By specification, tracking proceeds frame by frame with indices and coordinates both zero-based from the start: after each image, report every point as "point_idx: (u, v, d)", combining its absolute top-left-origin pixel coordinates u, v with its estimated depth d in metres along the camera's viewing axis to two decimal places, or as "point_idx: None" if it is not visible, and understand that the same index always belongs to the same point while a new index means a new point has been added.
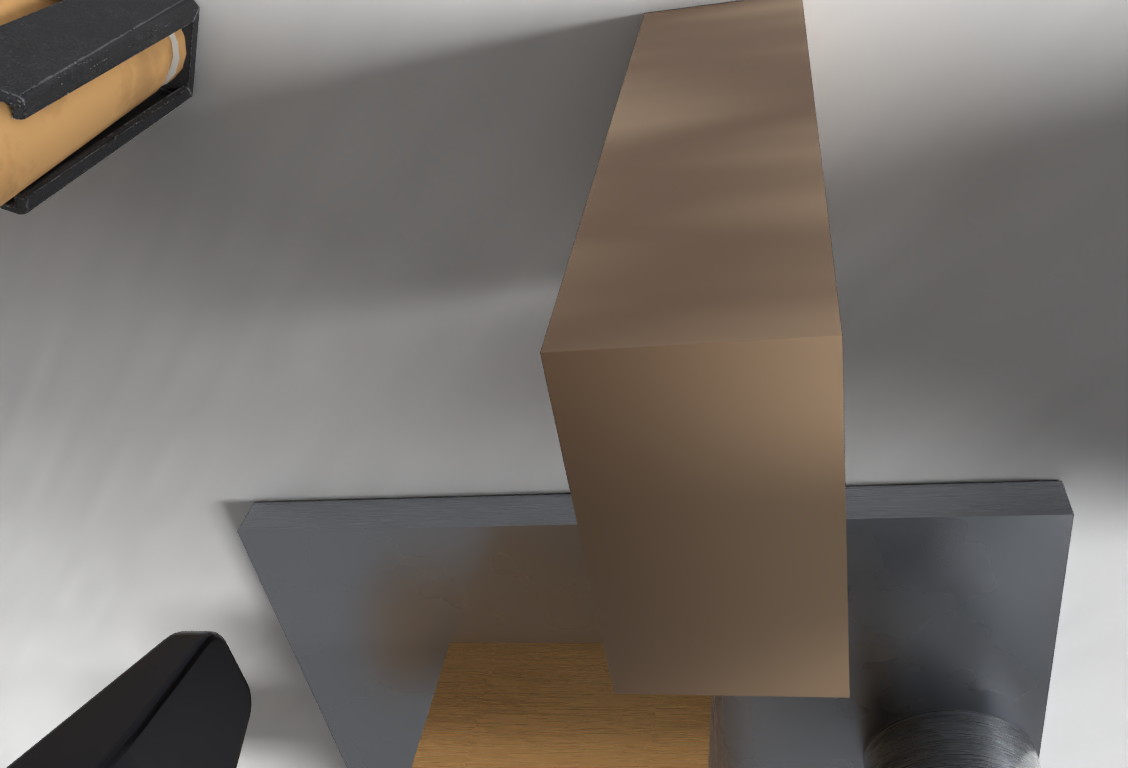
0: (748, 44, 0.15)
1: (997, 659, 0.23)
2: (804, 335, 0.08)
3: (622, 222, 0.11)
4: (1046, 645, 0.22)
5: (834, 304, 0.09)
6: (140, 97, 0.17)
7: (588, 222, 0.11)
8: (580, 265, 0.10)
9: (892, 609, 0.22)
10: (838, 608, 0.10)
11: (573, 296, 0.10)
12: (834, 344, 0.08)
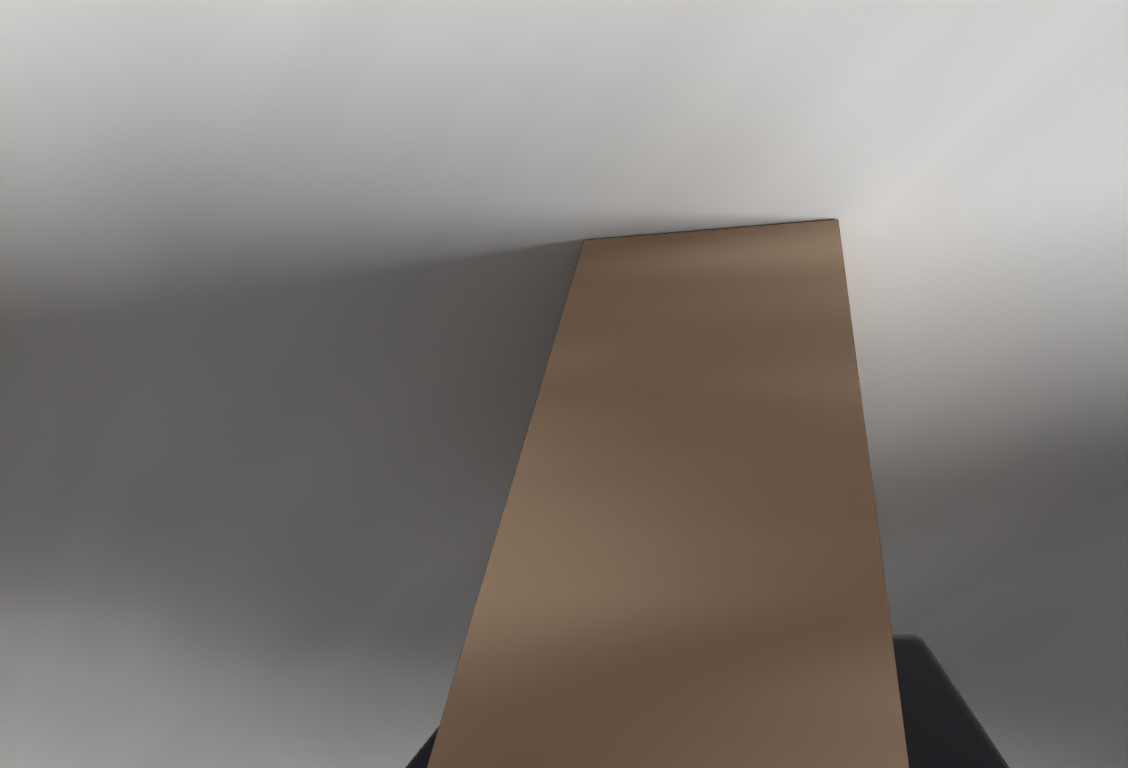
0: (752, 356, 0.08)
1: None
2: None
3: None
4: None
5: None
6: None
7: None
8: None
9: None
10: None
11: None
12: None
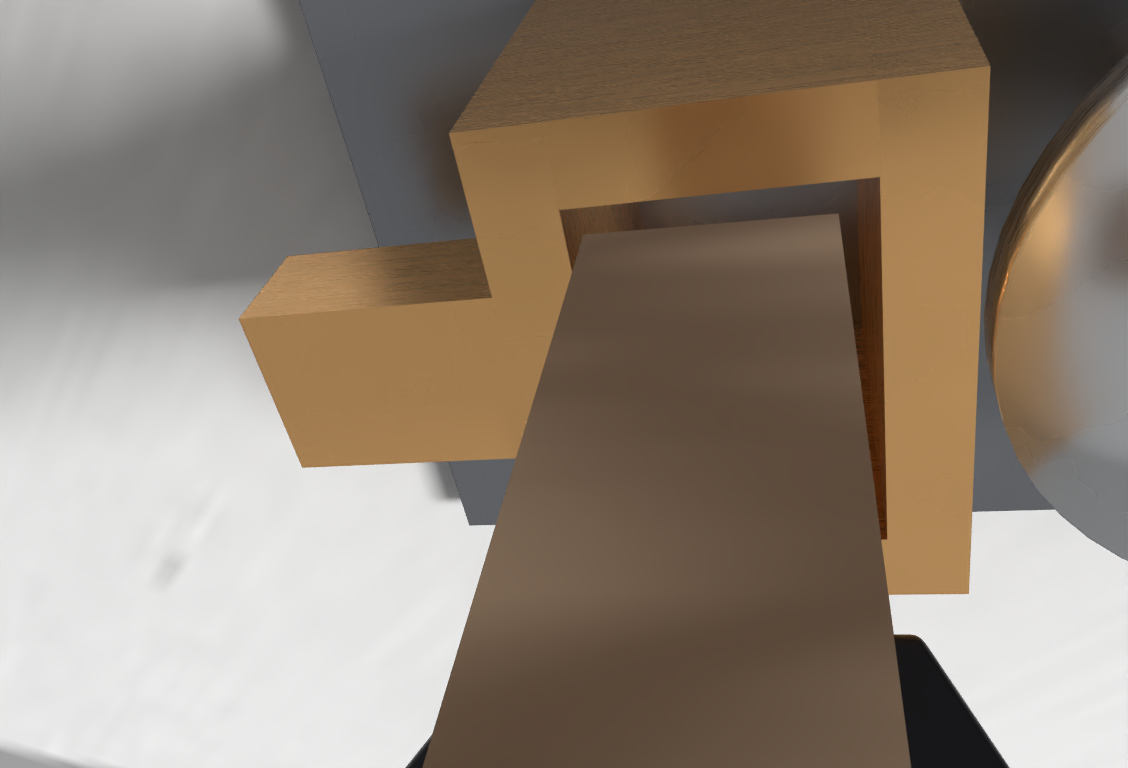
0: (750, 350, 0.08)
1: None
2: None
3: None
4: None
5: None
6: None
7: None
8: None
9: None
10: None
11: None
12: None
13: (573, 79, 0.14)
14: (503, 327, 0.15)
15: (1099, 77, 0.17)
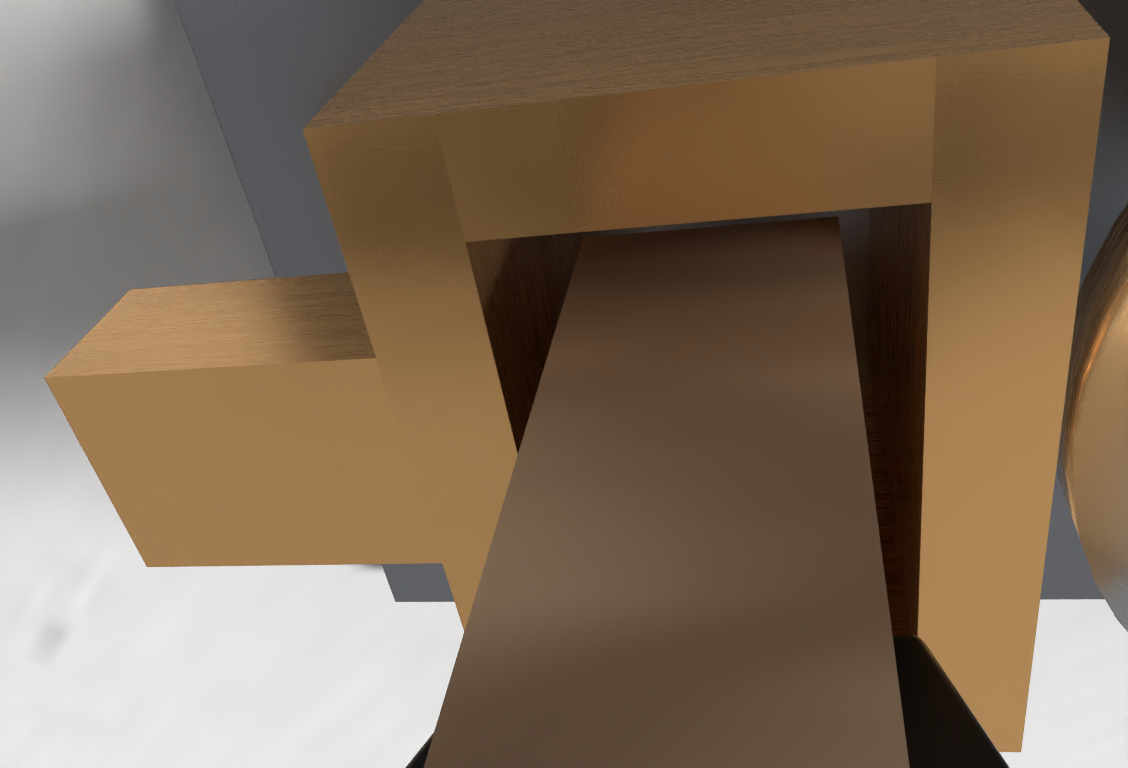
0: (751, 352, 0.08)
1: None
2: None
3: None
4: None
5: None
6: None
7: None
8: None
9: None
10: None
11: None
12: None
13: (491, 56, 0.10)
14: (395, 399, 0.11)
15: None
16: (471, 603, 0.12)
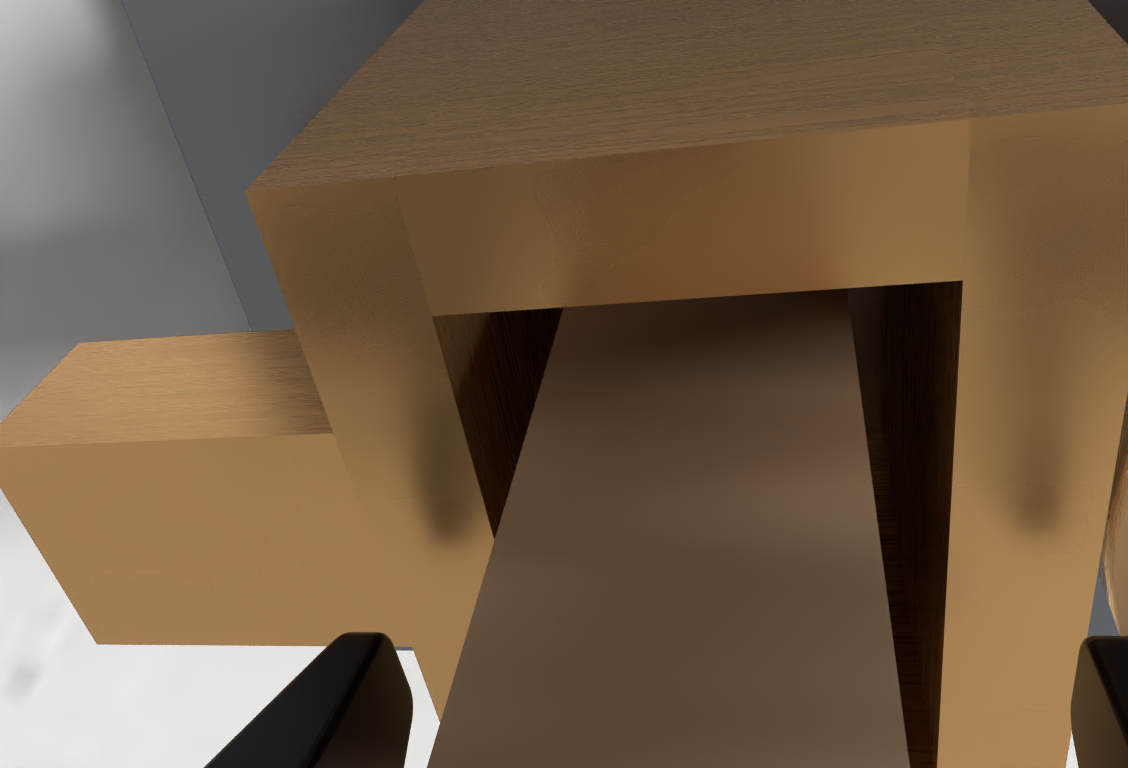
0: None
1: None
2: None
3: (564, 518, 0.07)
4: None
5: (902, 765, 0.05)
6: None
7: (516, 514, 0.07)
8: (494, 613, 0.06)
9: None
10: None
11: (475, 691, 0.06)
12: None
13: (462, 103, 0.09)
14: (358, 480, 0.10)
15: None
16: (446, 694, 0.11)
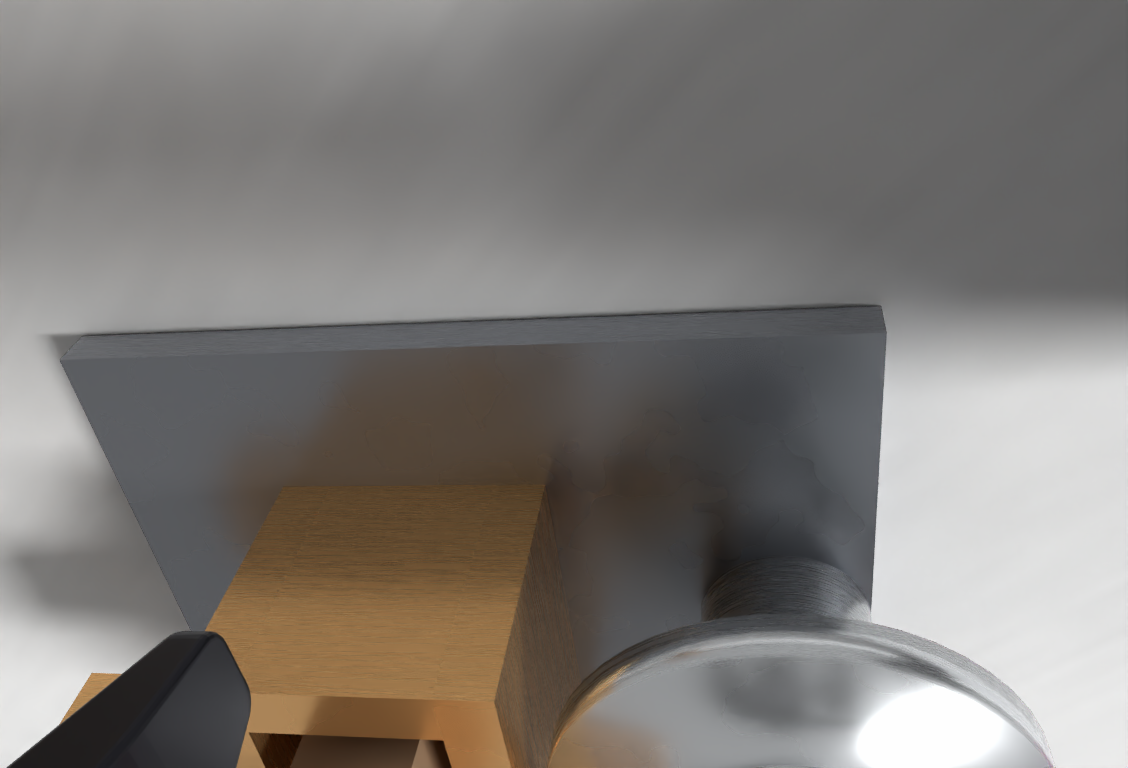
0: None
1: (823, 498, 0.23)
2: None
3: None
4: (869, 481, 0.22)
5: None
6: None
7: None
8: None
9: (716, 442, 0.22)
10: None
11: None
12: None
13: (266, 634, 0.21)
14: None
15: (672, 567, 0.25)
16: None
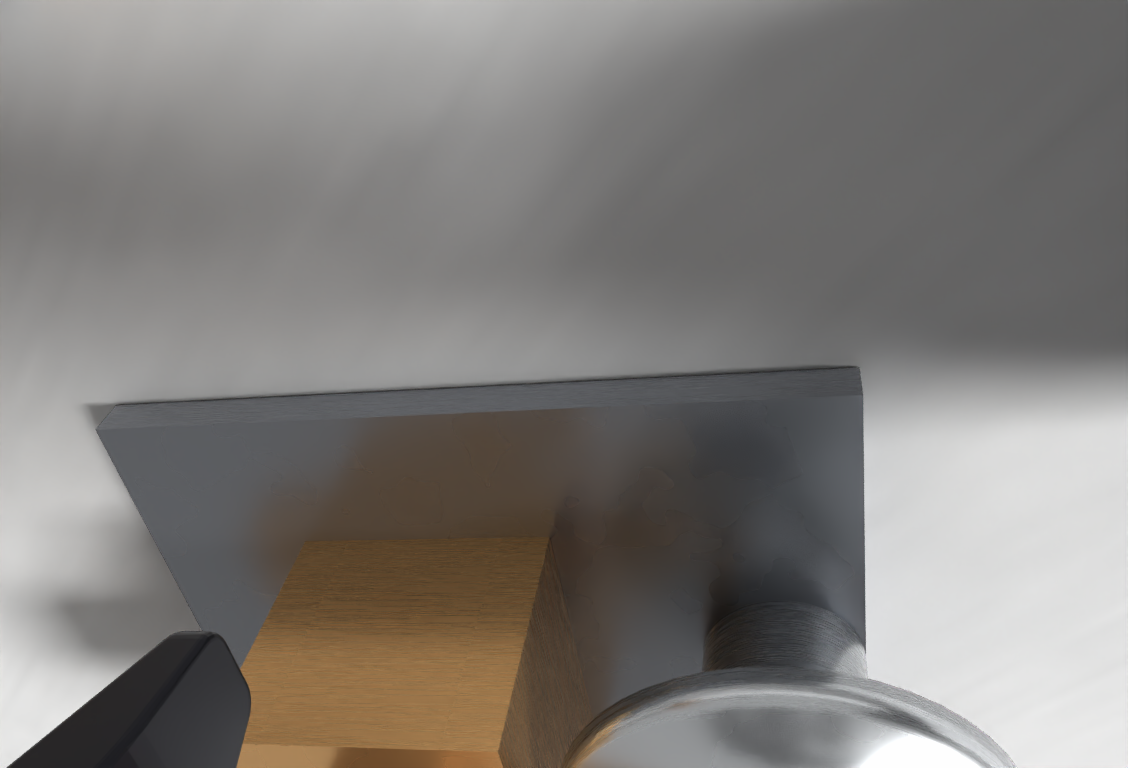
0: None
1: (813, 547, 0.24)
2: None
3: None
4: (856, 531, 0.23)
5: None
6: None
7: None
8: None
9: (709, 497, 0.23)
10: None
11: None
12: None
13: (289, 687, 0.22)
14: None
15: (674, 612, 0.26)
16: None
